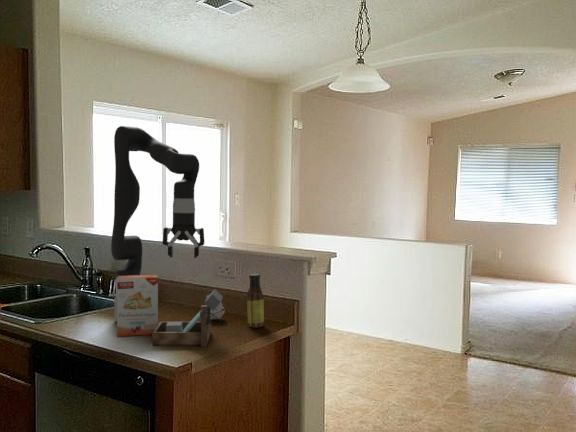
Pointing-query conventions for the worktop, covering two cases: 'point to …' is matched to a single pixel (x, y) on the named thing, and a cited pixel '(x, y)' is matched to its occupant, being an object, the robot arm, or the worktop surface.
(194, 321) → the trapdoor
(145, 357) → the worktop surface
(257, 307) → the sauce bottle
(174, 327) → the gray cube
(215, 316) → the grey white rough lump
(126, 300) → the cracker box
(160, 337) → the frame
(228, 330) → the worktop surface
